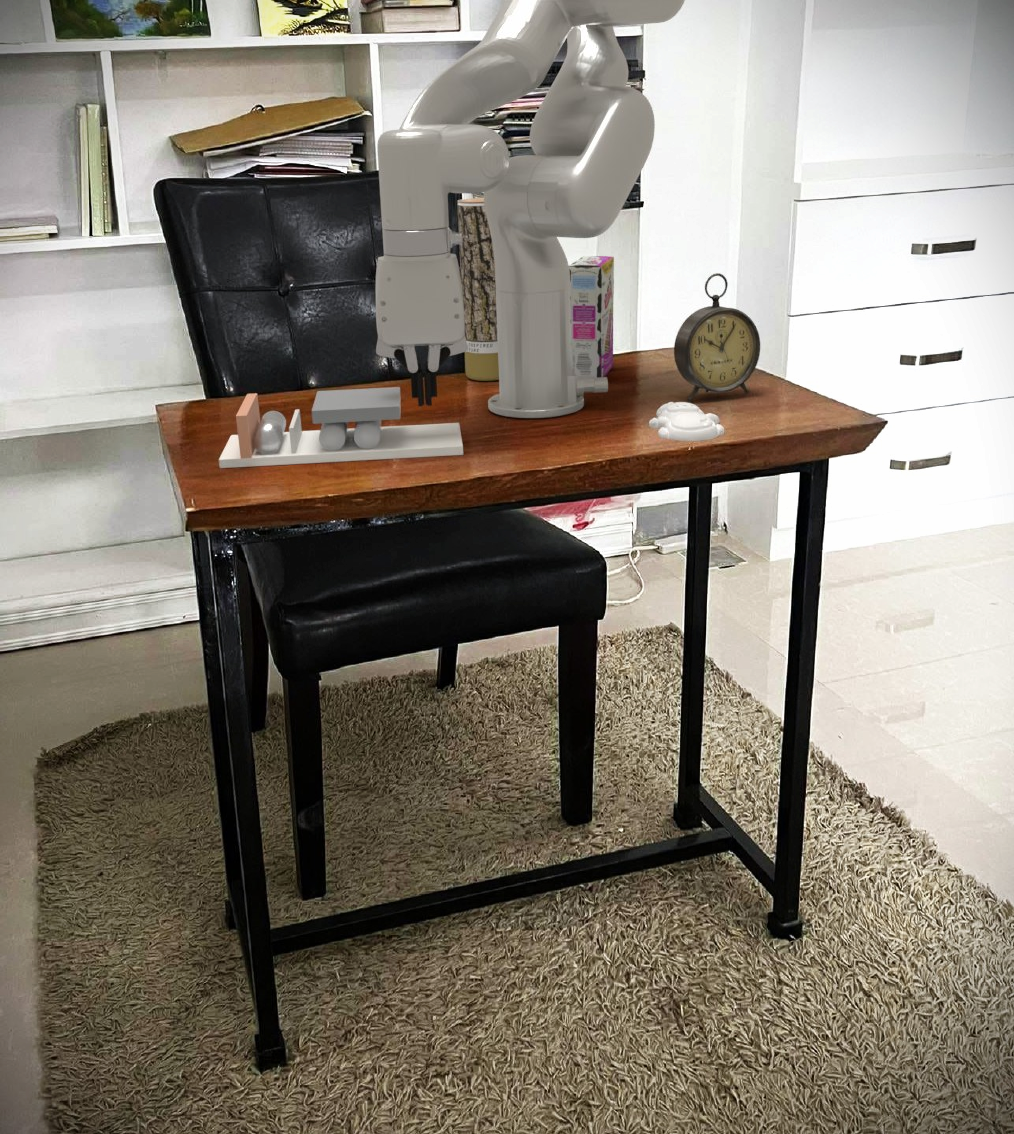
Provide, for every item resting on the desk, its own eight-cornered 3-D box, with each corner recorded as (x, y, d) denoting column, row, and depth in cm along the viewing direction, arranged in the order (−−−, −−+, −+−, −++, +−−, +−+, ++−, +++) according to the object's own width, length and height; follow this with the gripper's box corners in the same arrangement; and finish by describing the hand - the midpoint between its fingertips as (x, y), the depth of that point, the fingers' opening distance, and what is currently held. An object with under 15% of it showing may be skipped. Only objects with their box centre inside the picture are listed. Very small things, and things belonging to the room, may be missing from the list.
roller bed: (459, 430, 156) (457, 383, 154) (463, 454, 146) (460, 404, 143) (232, 442, 154) (226, 395, 152) (219, 468, 144) (213, 417, 142)
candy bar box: (602, 384, 177) (601, 265, 171) (568, 383, 178) (565, 265, 172) (615, 367, 187) (615, 254, 181) (582, 366, 188) (580, 255, 182)
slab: (400, 398, 153) (399, 386, 153) (400, 419, 144) (399, 406, 143) (318, 403, 153) (317, 391, 152) (312, 423, 143) (311, 411, 143)
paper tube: (506, 382, 180) (500, 201, 171) (460, 382, 181) (451, 202, 172) (516, 372, 186) (510, 197, 177) (471, 372, 187) (463, 198, 178)
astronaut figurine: (715, 417, 159) (715, 394, 158) (727, 443, 147) (728, 418, 146) (646, 419, 159) (646, 396, 158) (653, 445, 148) (653, 420, 147)
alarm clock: (686, 405, 163) (689, 279, 158) (668, 397, 168) (669, 274, 162) (760, 396, 167) (765, 272, 161) (740, 388, 172) (744, 267, 166)
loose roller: (289, 430, 153) (280, 407, 152) (284, 449, 145) (273, 426, 144) (267, 438, 153) (257, 415, 152) (259, 458, 145) (249, 434, 144)
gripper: (480, 238, 146) (485, 393, 152) (351, 243, 145) (362, 399, 151) (484, 245, 139) (490, 407, 145) (349, 250, 138) (360, 414, 144)
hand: (424, 403), depth 148 cm, fingers closed
